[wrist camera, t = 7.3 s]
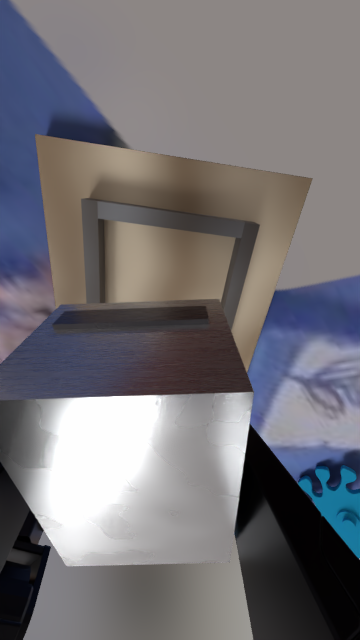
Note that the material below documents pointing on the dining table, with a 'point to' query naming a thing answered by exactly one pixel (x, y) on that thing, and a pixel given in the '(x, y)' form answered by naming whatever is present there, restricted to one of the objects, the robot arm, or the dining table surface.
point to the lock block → (129, 431)
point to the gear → (338, 504)
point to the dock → (166, 230)
